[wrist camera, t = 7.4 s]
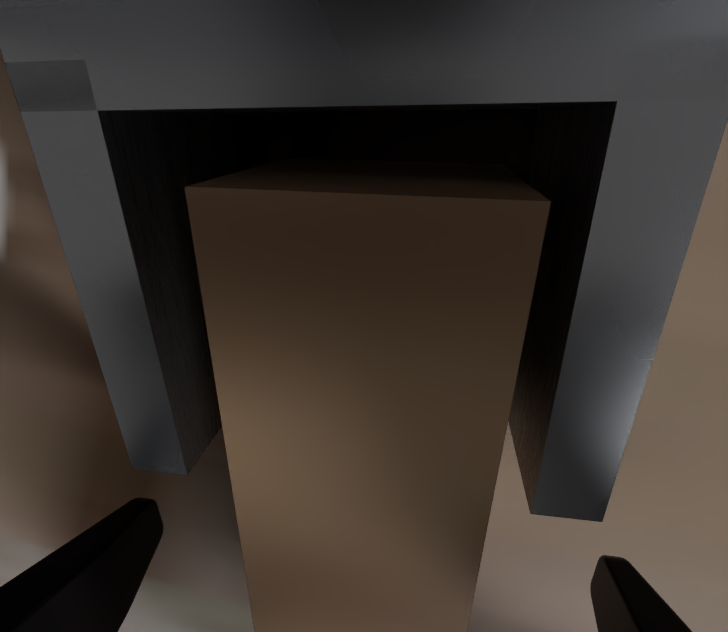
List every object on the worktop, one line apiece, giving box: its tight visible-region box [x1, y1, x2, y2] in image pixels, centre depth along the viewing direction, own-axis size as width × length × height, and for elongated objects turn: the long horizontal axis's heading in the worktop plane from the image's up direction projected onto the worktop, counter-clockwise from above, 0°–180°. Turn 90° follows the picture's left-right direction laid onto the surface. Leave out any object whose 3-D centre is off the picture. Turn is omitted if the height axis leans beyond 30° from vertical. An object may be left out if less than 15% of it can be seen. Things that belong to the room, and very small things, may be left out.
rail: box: [185, 158, 551, 632], centre depth 9 cm, size 14×4×4 cm, turn 179°
